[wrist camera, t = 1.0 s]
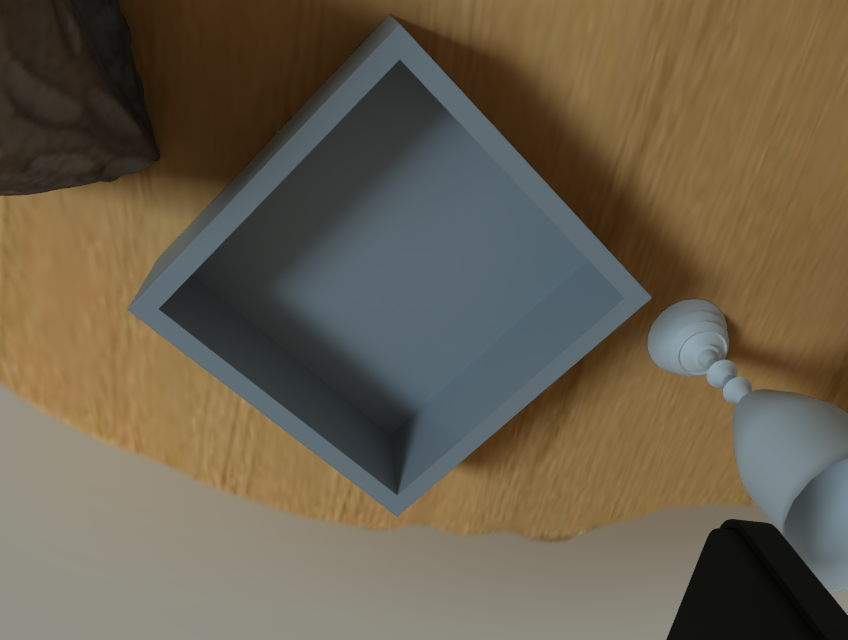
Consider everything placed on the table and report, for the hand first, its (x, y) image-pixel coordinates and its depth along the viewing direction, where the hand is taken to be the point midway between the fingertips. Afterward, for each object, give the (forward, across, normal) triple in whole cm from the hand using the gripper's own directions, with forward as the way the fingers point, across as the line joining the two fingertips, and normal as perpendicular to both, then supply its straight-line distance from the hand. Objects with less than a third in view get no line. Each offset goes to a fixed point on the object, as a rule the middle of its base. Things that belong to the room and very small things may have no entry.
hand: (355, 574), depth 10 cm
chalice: (+35, -23, +9) cm, 43 cm away
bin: (+35, -4, +7) cm, 35 cm away
